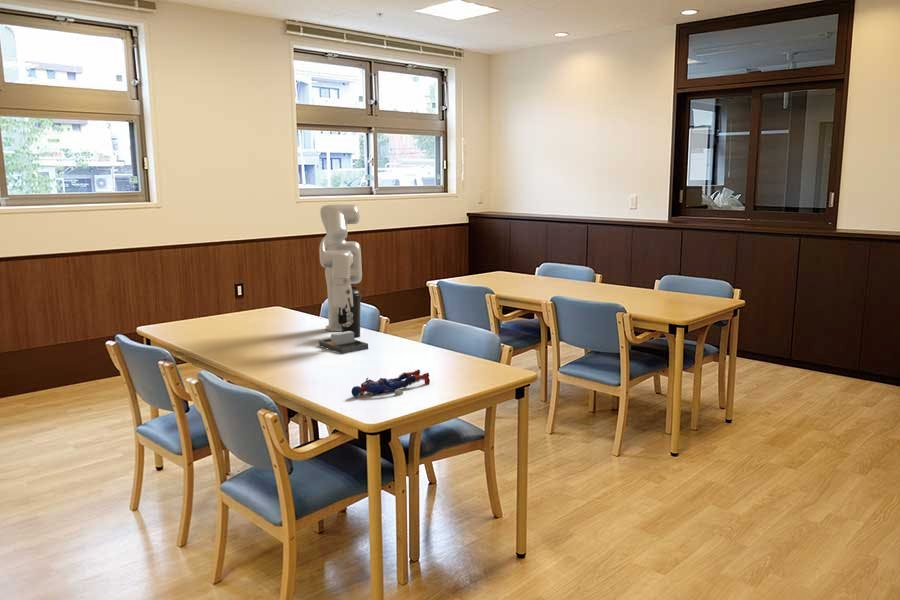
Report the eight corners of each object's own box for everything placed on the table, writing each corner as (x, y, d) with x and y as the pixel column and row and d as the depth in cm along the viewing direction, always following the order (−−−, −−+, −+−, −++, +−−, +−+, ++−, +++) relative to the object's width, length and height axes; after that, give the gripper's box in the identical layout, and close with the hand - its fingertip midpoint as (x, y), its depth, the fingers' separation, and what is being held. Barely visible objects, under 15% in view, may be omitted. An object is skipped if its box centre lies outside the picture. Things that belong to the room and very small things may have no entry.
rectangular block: (349, 343, 304) (349, 330, 303) (354, 344, 302) (354, 332, 301) (331, 346, 298) (331, 334, 297) (335, 348, 296) (335, 335, 295)
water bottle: (335, 337, 319) (334, 288, 315) (347, 332, 328) (345, 285, 324) (355, 339, 315) (353, 289, 311) (366, 334, 324) (364, 286, 320)
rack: (344, 341, 311) (343, 334, 311) (368, 348, 297) (368, 342, 297) (318, 345, 303) (318, 339, 302) (342, 353, 289) (342, 347, 288)
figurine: (411, 378, 255) (341, 394, 236) (411, 363, 254) (340, 378, 235) (436, 387, 244) (364, 404, 225) (436, 371, 243) (363, 388, 224)
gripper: (358, 282, 292) (359, 324, 295) (339, 278, 303) (340, 319, 306) (343, 284, 287) (344, 327, 290) (324, 280, 298) (326, 322, 301)
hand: (342, 323), depth 298 cm, fingers closed
